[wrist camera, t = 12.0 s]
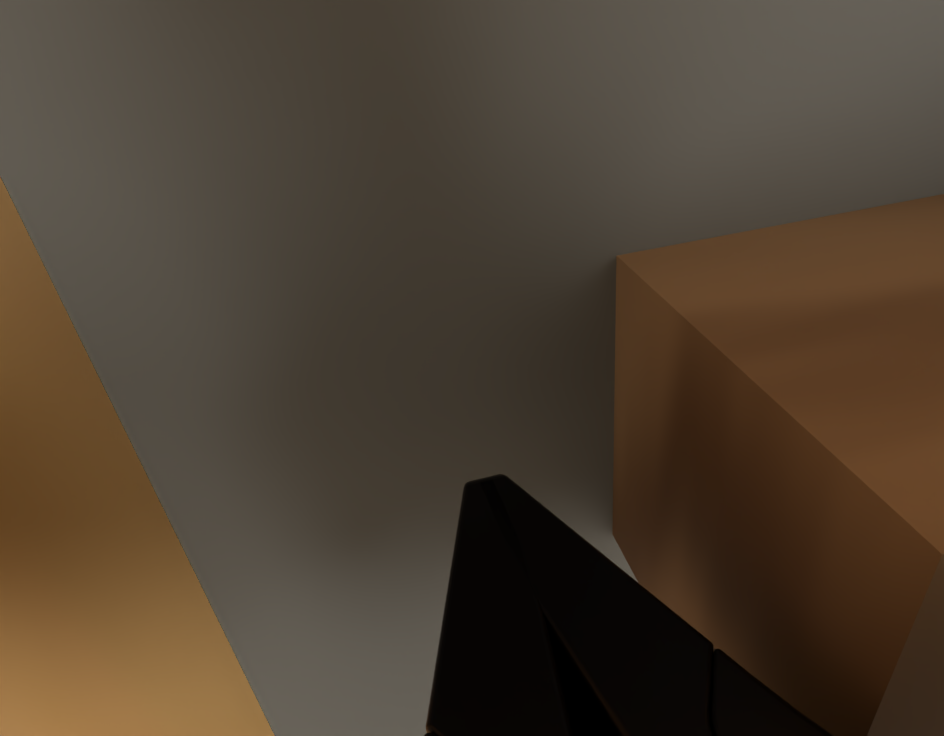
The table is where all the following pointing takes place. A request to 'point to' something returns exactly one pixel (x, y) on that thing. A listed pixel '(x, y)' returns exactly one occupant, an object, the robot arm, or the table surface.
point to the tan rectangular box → (794, 455)
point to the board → (411, 263)
